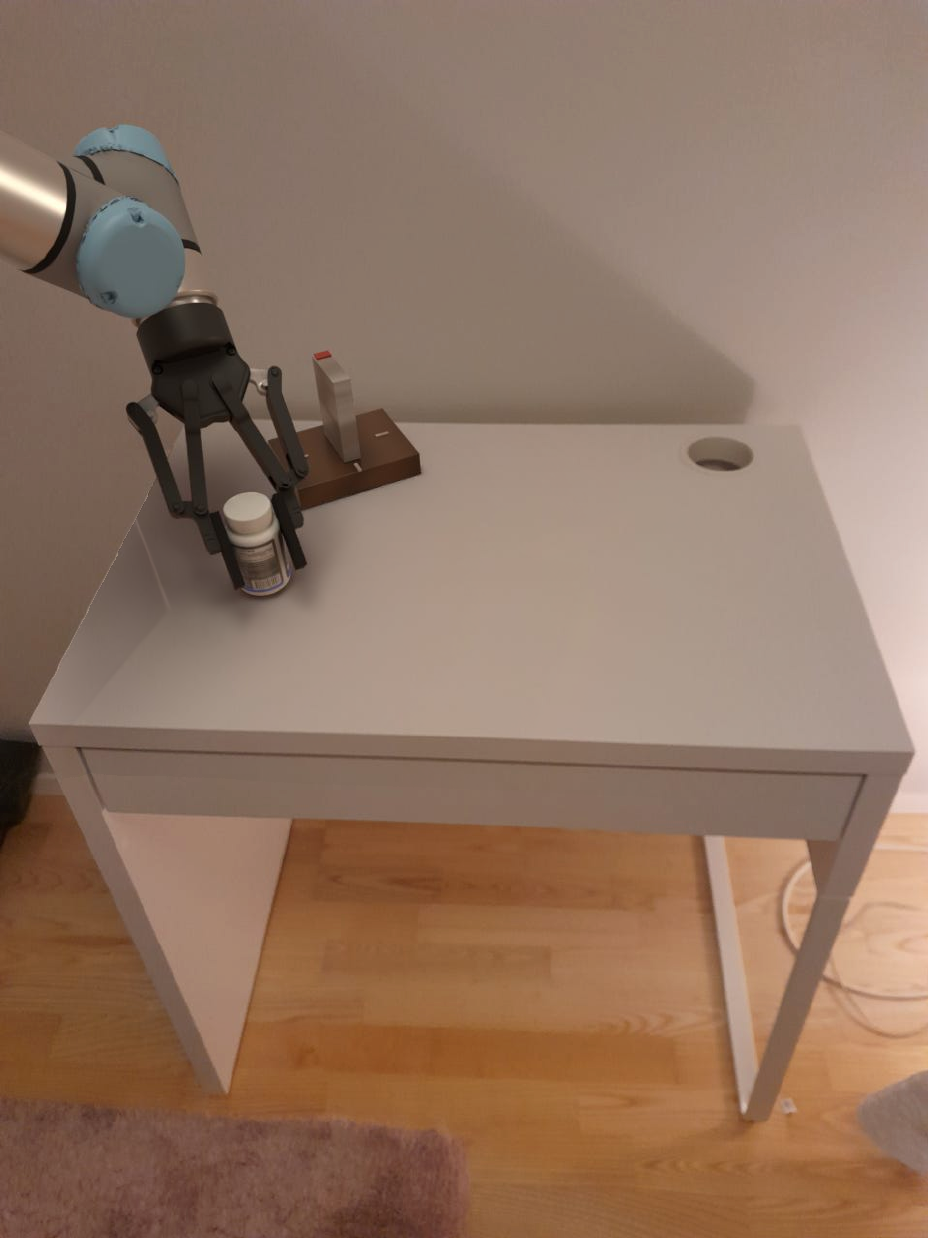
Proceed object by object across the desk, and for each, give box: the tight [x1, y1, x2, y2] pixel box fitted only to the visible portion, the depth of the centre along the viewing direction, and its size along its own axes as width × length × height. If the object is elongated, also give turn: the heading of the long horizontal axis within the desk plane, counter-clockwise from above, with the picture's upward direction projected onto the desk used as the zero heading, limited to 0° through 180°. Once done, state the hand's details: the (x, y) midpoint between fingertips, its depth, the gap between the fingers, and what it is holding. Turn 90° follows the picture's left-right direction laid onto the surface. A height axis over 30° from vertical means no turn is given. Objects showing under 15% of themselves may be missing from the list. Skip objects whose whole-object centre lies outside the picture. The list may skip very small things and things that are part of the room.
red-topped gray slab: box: [311, 350, 361, 463], centre depth 93 cm, size 6×2×9 cm, turn 26°
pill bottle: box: [222, 491, 291, 597], centre depth 82 cm, size 5×5×8 cm
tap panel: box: [267, 407, 422, 511], centre depth 97 cm, size 13×10×3 cm
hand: (270, 576), depth 80 cm, fingers closed on pill bottle, 5 cm apart
